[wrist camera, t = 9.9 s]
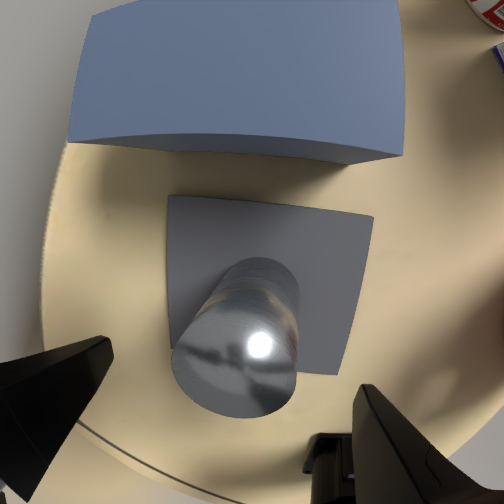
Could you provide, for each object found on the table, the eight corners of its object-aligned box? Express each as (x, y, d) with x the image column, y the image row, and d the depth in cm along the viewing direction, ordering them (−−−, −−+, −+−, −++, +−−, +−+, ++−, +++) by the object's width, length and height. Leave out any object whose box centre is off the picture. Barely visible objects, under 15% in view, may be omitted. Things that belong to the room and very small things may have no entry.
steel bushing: (305, 262, 15) (307, 335, 8) (293, 334, 16) (285, 425, 9) (222, 252, 15) (167, 312, 9) (219, 322, 17) (176, 404, 10)
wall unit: (349, 165, 14) (402, 155, 6) (167, 151, 15) (67, 142, 7) (354, 72, 12) (396, -7, 5) (176, 66, 14) (94, 10, 6)
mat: (336, 369, 17) (337, 375, 16) (174, 344, 18) (171, 348, 18) (371, 215, 14) (374, 217, 14) (172, 194, 16) (168, 195, 15)
